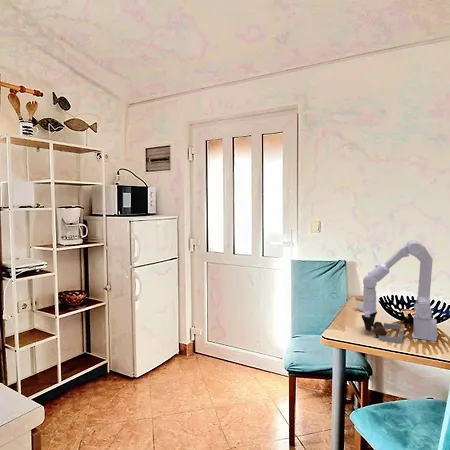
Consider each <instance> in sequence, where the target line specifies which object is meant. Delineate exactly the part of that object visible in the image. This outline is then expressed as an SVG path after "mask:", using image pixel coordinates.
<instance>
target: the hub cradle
mask: <svg viewBox="0 0 450 450" xmlns="http://www.w3.org/2000/svg"><path fill="white" fill-rule="evenodd" d="M383 326H384V328H385V329H392V330H398V329H400V330H399V331H398V337H397V336H396V337H395V336H390V335H386V336H384V335H379V338H378V341H383V342H389V343H395V344H396V343H397V344H403V343H402V342H403V338H404V334H405V330H404V329H405V324H403V323H402V324H395V323H386V322H384V323H383Z"/></svg>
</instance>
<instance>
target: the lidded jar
mask: <svg viewBox="0 0 450 450" xmlns="http://www.w3.org/2000/svg"><path fill="white" fill-rule="evenodd" d="M354 300H355V301H354V302H355V305H356V308H357V309H358V310H359V312H363V313H364V311H362V310H361V308H363V295H356V296H355V299H354Z"/></svg>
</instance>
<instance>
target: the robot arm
mask: <svg viewBox="0 0 450 450" xmlns="http://www.w3.org/2000/svg"><path fill="white" fill-rule="evenodd" d="M409 254H410V255H411V256H413V257H414V258H416V259H417V260H418V261H419V262H420V263H419V275H418V276H419V277H418V291H417V297H416V300H415V303H414V305H413V310H414V311H415V313H414V315H413V332H412V337H411V338H412V339H418V340H425V341H432V342H437V339H438V338H437V337H438V332H437V330H438V329H437V328H438V327H437V326H438V324H437V323H438V322H437V321H438V320H437V319H436V318H432V315H433V310H432V309H431V299H430V297H431V296H430V295H431V284H432V271H433V257H432V256H431V255H430V252H429V251H428V249H427V248H426V246H425V245H423V244H422V243H421V242H418V241H417V240H410V241H408V242H407V243H406V244H404V245H402V246H401V247H400V248H399V249H397V250H396V251H395V252H394V253H393V254H392V255H391V256H390V257H389V258H388V259H387V260H386V261H385V262H384V263H378V264H376V265H375V266H374V269H372V270H371V271H369V272H367V275H365V276H364V277H363V280H362V283H363V290H362V293H363V295H362V296H363V308H361V310H362V311H364V312H363V313H364V314H361V319H362V320H363V323H364V328H365V331H366V332H367V331H368V332H371V330H372V329H373V325H374V323H375V319H376V315H378V311H377V291H376V286H377V283H378V282H381V281H382V280H383V279H384V278H385V277H386V276H387V275H389V273H390V269H391V268H392V267H393V266H394V265H395V264H396V263H398V262H399V261H400V260H401V259H402V258H407V257H410V255H409ZM362 311H361V312H362Z"/></svg>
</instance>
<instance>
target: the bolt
mask: <svg viewBox="0 0 450 450" xmlns="http://www.w3.org/2000/svg"><path fill="white" fill-rule="evenodd" d="M372 329H374V330H373V332H372V333H373V334H374V336H375V337H376V339H379V335H384V336H388V332H387V330H386V328H384V324H383V323H382V322H380V321H374V325H373V327H372Z"/></svg>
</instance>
